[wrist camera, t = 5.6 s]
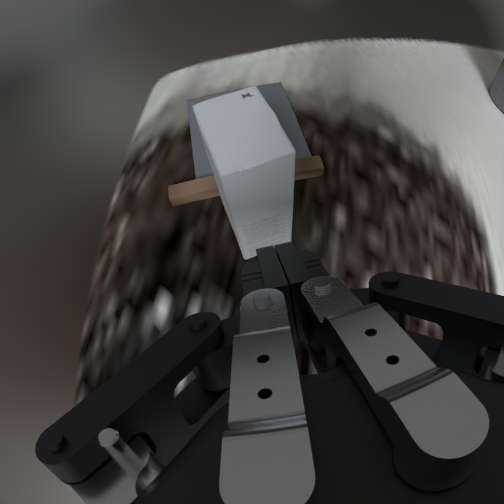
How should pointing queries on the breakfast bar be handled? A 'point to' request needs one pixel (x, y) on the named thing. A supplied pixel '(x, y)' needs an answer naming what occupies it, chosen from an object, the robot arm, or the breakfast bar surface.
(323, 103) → the breakfast bar surface
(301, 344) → the breakfast bar surface
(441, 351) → the robot arm
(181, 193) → the walnut strip
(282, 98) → the grey mat
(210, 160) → the skincare box
